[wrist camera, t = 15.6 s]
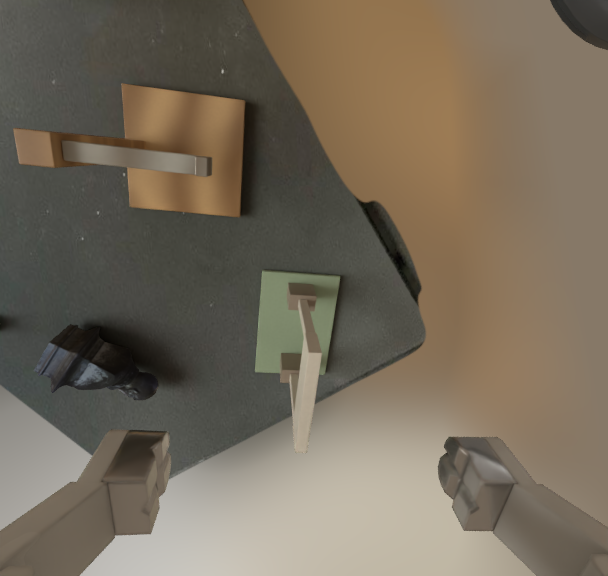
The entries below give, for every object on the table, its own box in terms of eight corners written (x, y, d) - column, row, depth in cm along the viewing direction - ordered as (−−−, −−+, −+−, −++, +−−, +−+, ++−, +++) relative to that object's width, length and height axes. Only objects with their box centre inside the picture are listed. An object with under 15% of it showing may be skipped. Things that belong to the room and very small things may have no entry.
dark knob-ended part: (151, 394, 48) (135, 428, 42) (57, 351, 45) (24, 382, 39) (173, 361, 47) (160, 392, 41) (77, 314, 43) (46, 340, 37)
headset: (312, 284, 44) (334, 348, 30) (302, 366, 48) (316, 456, 34) (288, 282, 44) (297, 346, 29) (279, 365, 48) (284, 456, 34)
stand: (245, 102, 36) (226, 59, 20) (240, 215, 41) (220, 259, 24) (126, 85, 35) (-6, 23, 18) (133, 205, 39) (33, 245, 22)
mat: (339, 275, 45) (340, 277, 44) (324, 372, 50) (324, 374, 49) (262, 269, 43) (262, 271, 43) (255, 369, 49) (254, 372, 48)
